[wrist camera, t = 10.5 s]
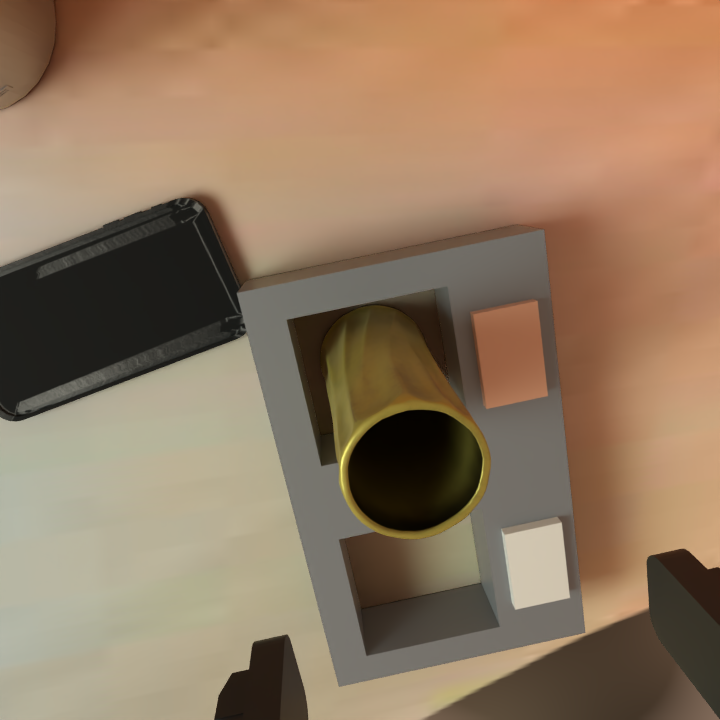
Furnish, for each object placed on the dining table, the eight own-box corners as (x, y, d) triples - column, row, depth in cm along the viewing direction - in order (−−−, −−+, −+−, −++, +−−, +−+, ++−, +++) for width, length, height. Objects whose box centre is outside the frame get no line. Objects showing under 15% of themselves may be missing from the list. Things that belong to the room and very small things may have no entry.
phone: (257, 331, 32) (3, 427, 32) (259, 326, 33) (13, 420, 33) (195, 189, 30) (-78, 294, 30) (199, 188, 31) (-64, 291, 31)
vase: (448, 348, 34) (541, 456, 20) (380, 427, 35) (424, 581, 21) (366, 282, 32) (405, 350, 19) (298, 366, 33) (288, 490, 20)
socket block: (246, 280, 32) (235, 295, 27) (516, 224, 32) (548, 230, 28) (336, 637, 39) (339, 695, 34) (558, 588, 39) (589, 640, 34)
